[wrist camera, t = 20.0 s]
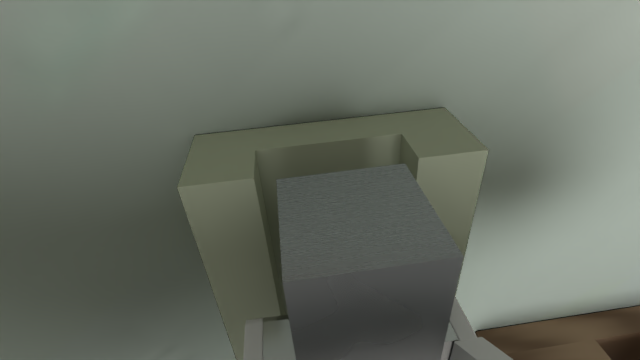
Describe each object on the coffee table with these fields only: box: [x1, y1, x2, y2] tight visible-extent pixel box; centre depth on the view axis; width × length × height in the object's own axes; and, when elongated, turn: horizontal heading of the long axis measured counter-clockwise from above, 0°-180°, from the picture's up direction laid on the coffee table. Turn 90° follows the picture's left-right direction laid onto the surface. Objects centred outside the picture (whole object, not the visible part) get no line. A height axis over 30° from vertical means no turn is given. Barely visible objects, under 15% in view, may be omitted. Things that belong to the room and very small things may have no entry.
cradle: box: [177, 108, 489, 360], centre depth 16 cm, size 8×16×3 cm, turn 4°
